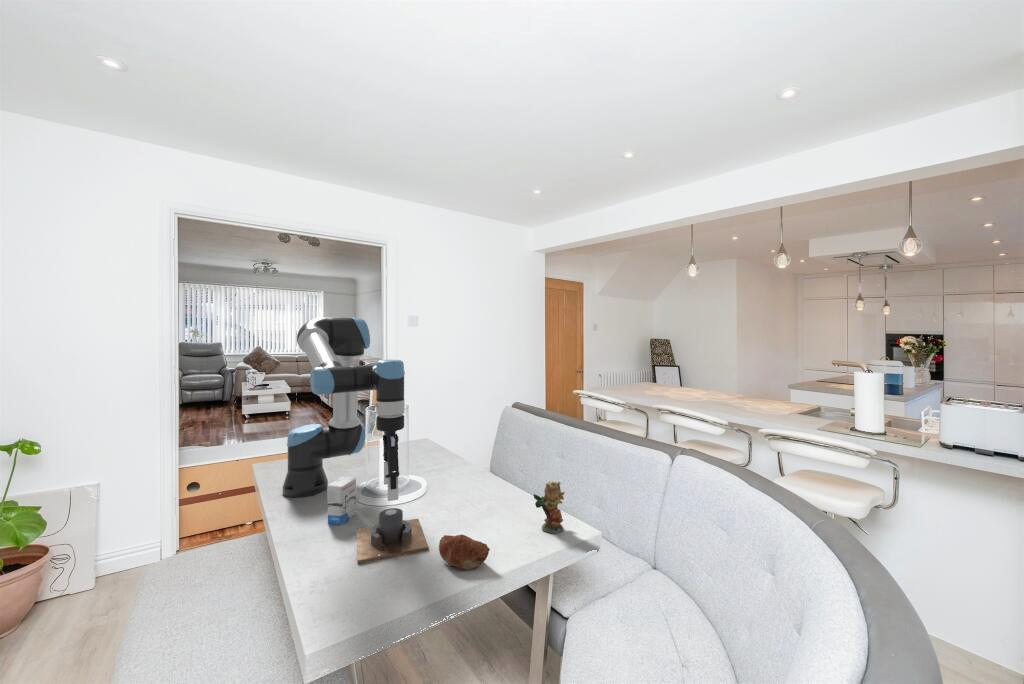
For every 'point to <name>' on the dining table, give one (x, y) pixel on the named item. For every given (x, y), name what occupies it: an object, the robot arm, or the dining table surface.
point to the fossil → (463, 551)
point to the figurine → (551, 507)
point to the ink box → (341, 500)
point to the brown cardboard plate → (376, 550)
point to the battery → (391, 525)
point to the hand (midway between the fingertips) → (390, 491)
